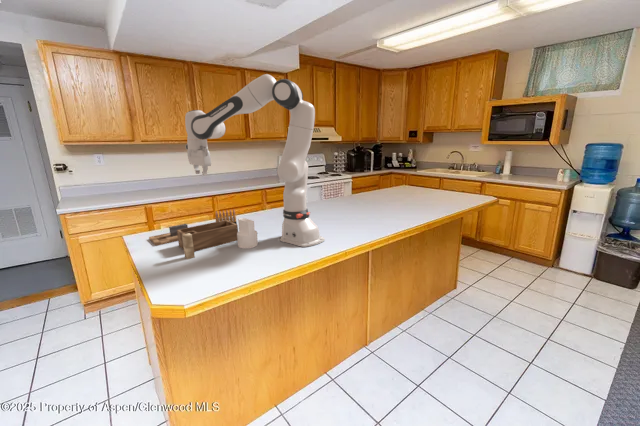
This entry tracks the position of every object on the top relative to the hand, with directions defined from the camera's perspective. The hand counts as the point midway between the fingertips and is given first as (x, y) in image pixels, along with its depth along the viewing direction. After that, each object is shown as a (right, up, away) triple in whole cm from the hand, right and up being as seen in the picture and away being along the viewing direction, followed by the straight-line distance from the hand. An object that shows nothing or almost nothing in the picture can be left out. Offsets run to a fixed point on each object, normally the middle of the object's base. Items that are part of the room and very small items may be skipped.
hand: (201, 174), depth 145 cm
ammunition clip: (+9, -29, +11) cm, 33 cm away
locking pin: (+4, -38, -22) cm, 44 cm away
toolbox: (+6, -33, -6) cm, 34 cm away
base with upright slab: (+25, -34, -9) cm, 43 cm away
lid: (-13, -31, +5) cm, 34 cm away
